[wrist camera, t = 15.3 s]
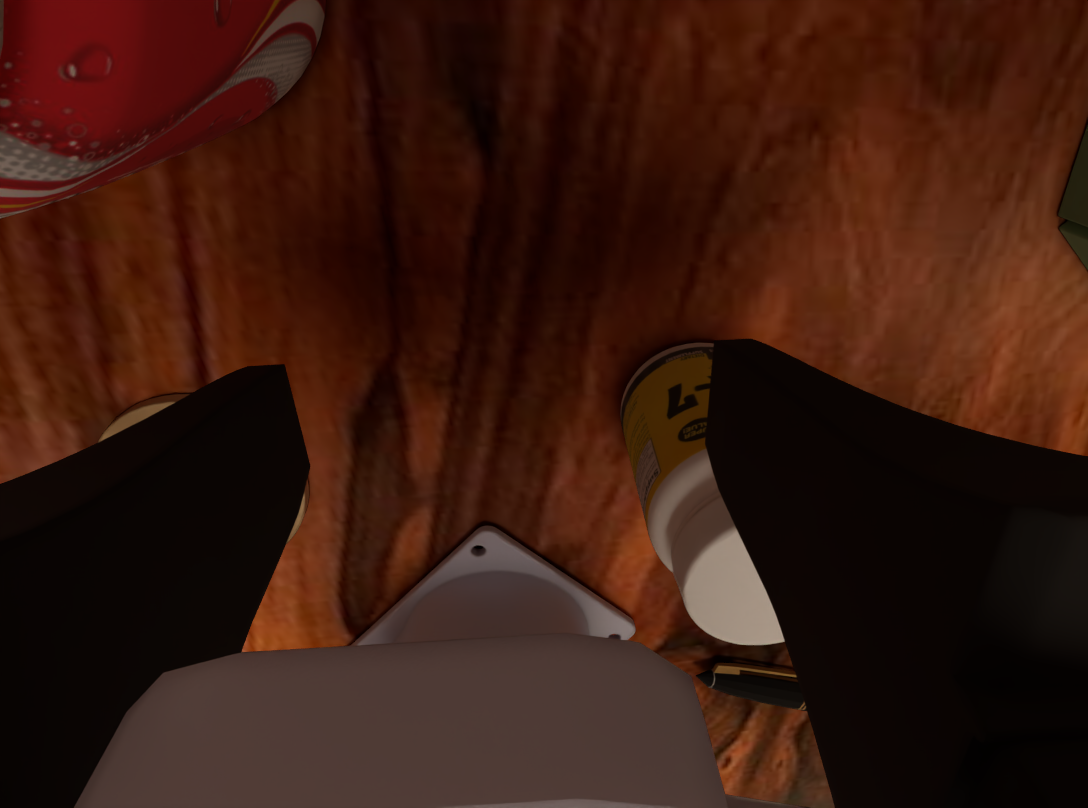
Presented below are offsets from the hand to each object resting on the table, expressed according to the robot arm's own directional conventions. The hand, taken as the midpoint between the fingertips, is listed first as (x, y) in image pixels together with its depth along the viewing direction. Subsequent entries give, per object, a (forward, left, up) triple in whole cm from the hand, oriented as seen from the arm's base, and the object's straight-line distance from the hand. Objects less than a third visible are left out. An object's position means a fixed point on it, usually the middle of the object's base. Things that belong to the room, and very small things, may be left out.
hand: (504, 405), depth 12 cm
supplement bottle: (0, -8, -10) cm, 13 cm away
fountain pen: (-6, -25, -9) cm, 27 cm away
